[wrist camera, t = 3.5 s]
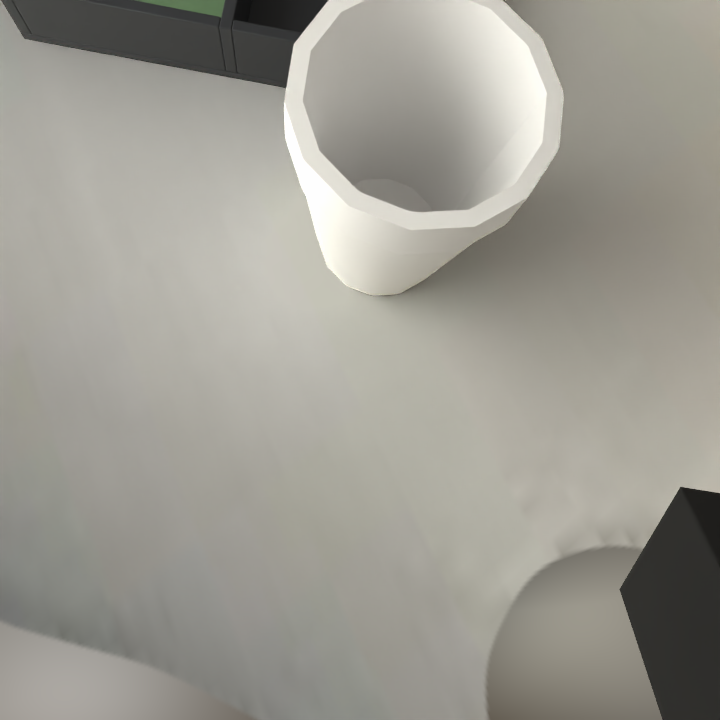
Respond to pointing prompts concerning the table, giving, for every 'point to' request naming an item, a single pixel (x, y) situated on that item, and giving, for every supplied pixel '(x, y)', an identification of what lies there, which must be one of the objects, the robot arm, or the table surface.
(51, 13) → the organizer
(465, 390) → the table surface
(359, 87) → the foam cup
